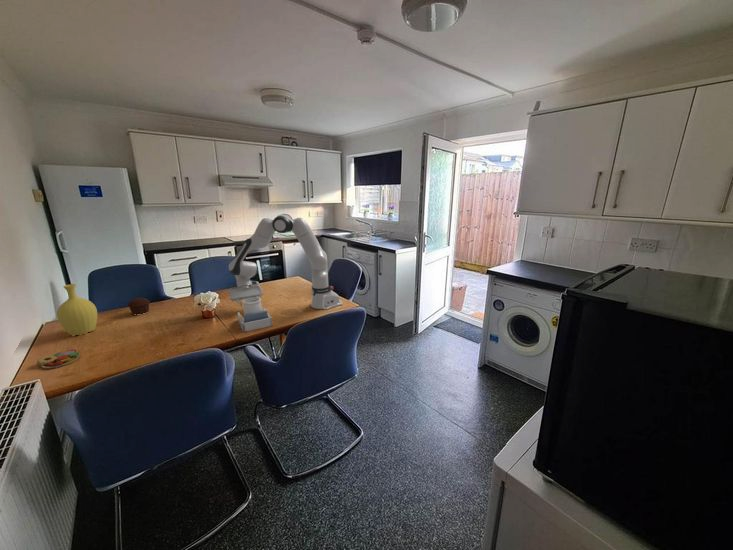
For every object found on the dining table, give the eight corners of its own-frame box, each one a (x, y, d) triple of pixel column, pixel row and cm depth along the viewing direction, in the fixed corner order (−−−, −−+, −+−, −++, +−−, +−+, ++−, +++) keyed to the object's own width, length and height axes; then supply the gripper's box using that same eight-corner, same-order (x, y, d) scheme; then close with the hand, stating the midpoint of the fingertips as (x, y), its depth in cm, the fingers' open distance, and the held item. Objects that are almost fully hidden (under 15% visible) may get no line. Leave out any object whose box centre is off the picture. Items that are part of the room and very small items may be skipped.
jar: (259, 326, 174) (257, 303, 170) (242, 326, 174) (239, 303, 170) (265, 319, 184) (263, 296, 180) (249, 319, 184) (246, 296, 180)
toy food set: (34, 366, 135) (32, 360, 134) (70, 352, 146) (69, 346, 146) (51, 372, 130) (48, 366, 129) (87, 357, 142) (85, 351, 141)
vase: (71, 328, 171) (57, 282, 164) (106, 323, 177) (94, 279, 170) (56, 340, 157) (41, 291, 149) (94, 335, 163) (81, 287, 155)
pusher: (267, 322, 178) (266, 310, 176) (268, 323, 177) (267, 311, 175) (244, 327, 172) (243, 314, 170) (245, 328, 170) (243, 316, 168)
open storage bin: (265, 314, 191) (264, 307, 189) (272, 325, 175) (271, 318, 174) (238, 320, 183) (237, 312, 181) (243, 332, 167) (242, 324, 166)
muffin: (130, 317, 186) (126, 303, 183) (128, 312, 194) (125, 298, 191) (152, 313, 193) (149, 298, 191) (150, 308, 201) (147, 294, 199)
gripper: (227, 285, 189) (231, 304, 184) (260, 281, 199) (264, 299, 194) (227, 290, 194) (231, 309, 189) (259, 285, 204) (264, 303, 199)
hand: (248, 304), depth 191 cm, fingers open, 8 cm apart
